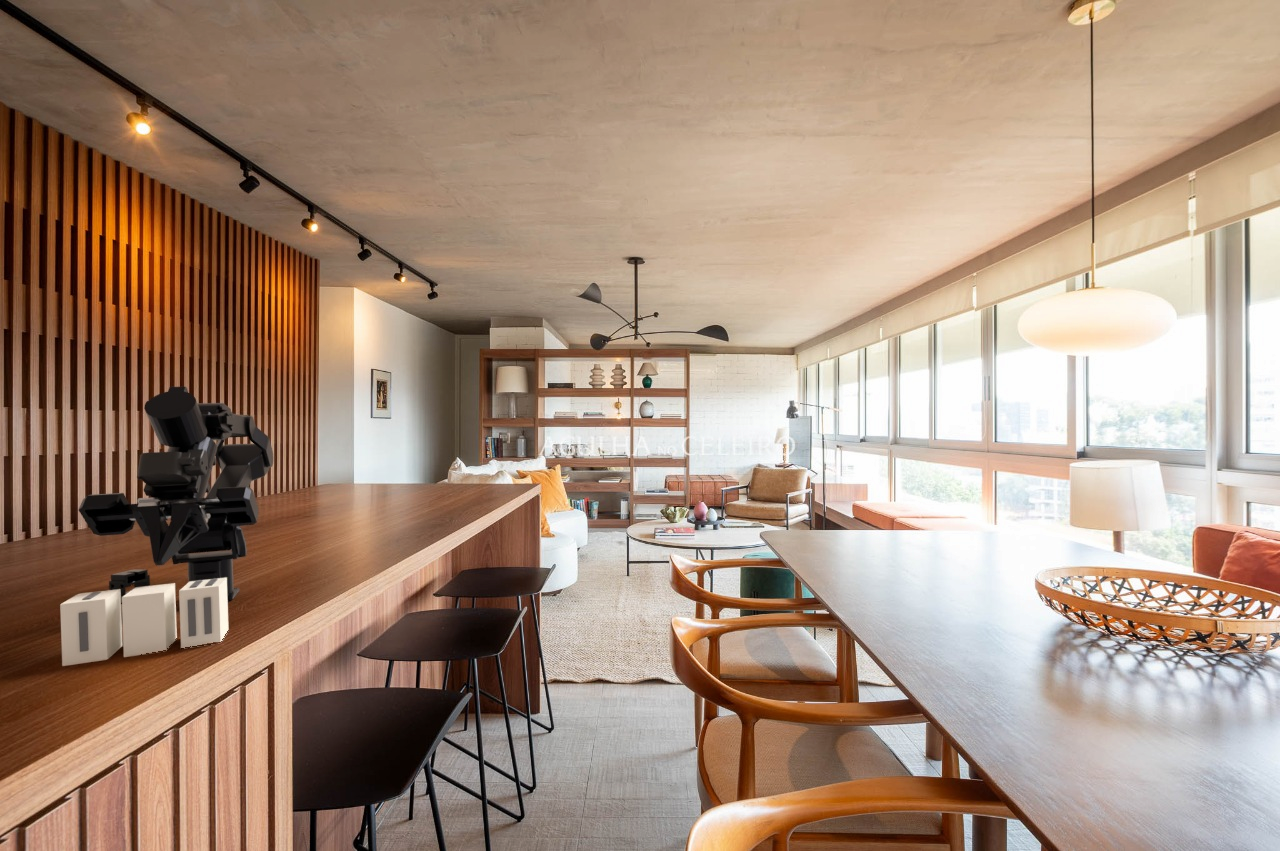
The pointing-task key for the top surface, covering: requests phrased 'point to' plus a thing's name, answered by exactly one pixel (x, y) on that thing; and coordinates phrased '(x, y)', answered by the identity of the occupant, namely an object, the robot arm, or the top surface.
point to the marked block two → (203, 612)
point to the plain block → (149, 619)
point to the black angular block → (129, 580)
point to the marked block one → (91, 627)
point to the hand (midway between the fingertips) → (158, 563)
